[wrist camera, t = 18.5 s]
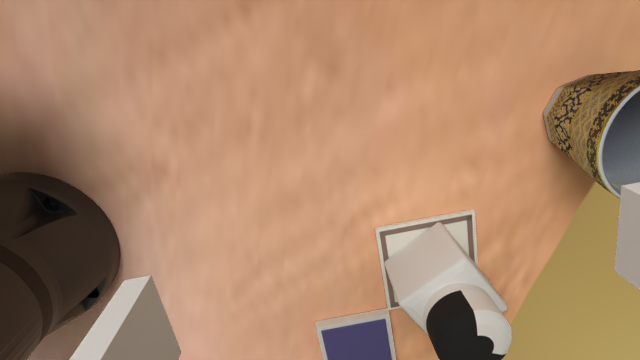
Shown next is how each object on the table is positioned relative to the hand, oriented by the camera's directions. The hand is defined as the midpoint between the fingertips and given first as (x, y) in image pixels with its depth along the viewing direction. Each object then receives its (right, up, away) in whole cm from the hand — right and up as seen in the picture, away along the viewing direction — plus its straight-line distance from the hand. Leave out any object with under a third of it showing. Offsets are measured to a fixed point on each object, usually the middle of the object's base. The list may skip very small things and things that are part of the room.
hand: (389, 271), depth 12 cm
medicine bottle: (+9, -6, +31) cm, 33 cm away
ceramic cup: (+23, +8, +27) cm, 37 cm away
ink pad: (+2, -16, +35) cm, 38 cm away
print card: (+9, -6, +31) cm, 33 cm away
